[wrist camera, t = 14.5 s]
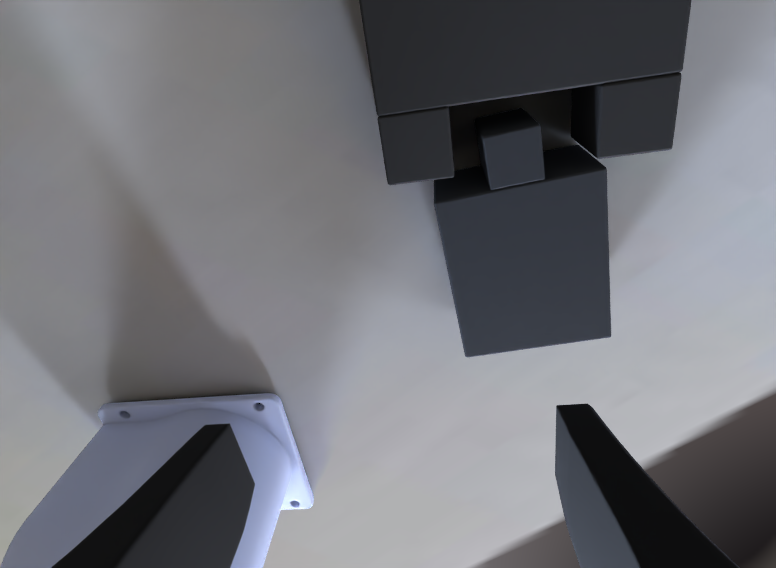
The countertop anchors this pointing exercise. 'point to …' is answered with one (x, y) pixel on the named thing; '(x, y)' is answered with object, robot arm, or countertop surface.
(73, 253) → the countertop surface
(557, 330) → the graphite pad
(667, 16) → the black pad
